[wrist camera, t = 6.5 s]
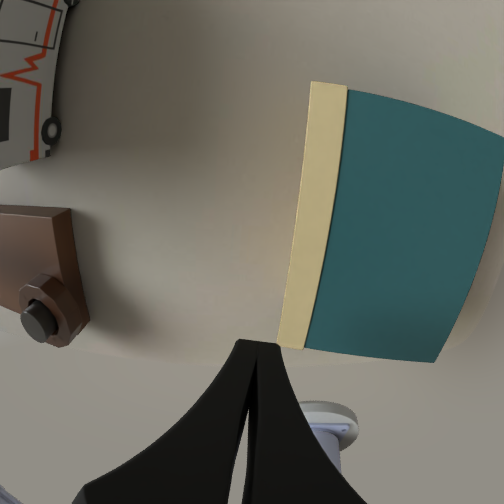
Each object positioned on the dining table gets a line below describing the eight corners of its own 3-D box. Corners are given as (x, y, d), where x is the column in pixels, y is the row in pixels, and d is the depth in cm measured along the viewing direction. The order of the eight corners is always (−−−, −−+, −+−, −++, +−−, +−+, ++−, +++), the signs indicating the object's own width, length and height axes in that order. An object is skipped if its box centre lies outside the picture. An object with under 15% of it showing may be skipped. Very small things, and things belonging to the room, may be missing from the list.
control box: (100, 326, 22) (78, 355, 18) (2, 293, 23) (-20, 311, 19) (80, 208, 18) (45, 227, 14) (-19, 204, 19) (-47, 217, 15)
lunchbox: (434, 365, 13) (275, 345, 14) (414, 314, 17) (288, 294, 19) (508, 136, 8) (310, 80, 9) (461, 133, 12) (314, 98, 14)
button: (62, 333, 18) (50, 347, 17) (38, 325, 18) (27, 337, 17) (52, 304, 17) (39, 317, 16) (29, 296, 17) (16, 308, 16)
